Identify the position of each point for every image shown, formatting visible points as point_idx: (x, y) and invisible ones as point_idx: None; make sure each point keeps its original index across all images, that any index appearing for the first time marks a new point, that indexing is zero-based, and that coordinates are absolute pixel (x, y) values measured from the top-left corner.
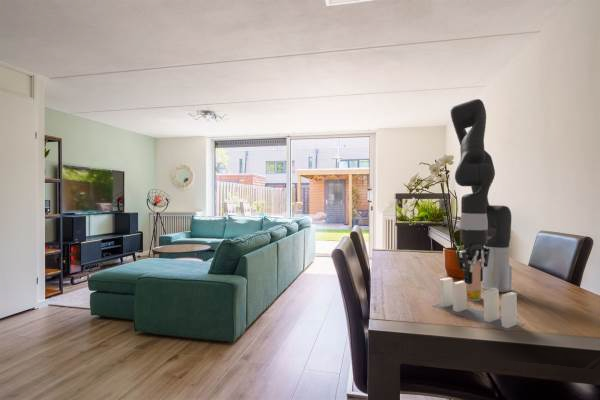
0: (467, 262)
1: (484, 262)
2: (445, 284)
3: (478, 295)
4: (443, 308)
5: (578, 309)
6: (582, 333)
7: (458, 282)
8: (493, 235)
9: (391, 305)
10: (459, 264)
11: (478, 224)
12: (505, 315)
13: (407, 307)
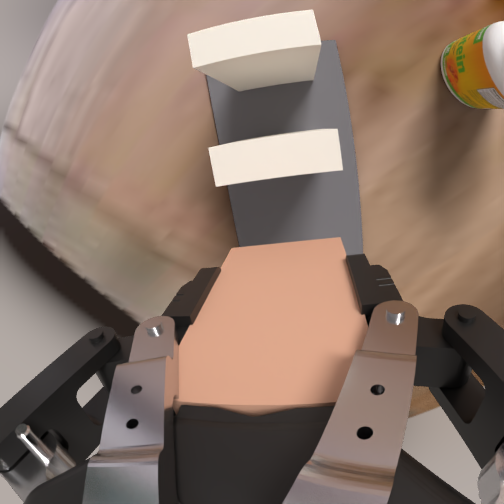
0: (99, 434)
1: (444, 397)
2: (228, 68)
3: (482, 106)
4: (226, 103)
5: None
6: (418, 403)
7: (257, 159)
8: None
9: (84, 18)
10: (65, 363)
11: None
12: None
13: (115, 43)
